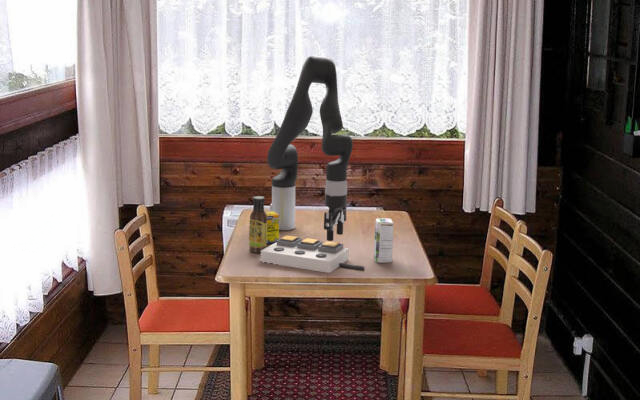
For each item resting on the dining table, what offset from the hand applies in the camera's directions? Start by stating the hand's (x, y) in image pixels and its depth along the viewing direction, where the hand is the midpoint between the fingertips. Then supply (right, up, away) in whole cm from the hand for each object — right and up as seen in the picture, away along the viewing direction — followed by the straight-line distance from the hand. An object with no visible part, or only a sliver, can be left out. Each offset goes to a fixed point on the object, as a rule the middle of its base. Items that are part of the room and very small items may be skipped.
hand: (334, 237), depth 278 cm
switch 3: (-1, -4, -3) cm, 5 cm away
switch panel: (-6, -8, -4) cm, 11 cm away
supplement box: (-24, -3, +20) cm, 32 cm away
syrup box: (+17, -8, 0) cm, 19 cm away
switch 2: (-9, -3, 0) cm, 9 cm away
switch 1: (-16, -2, +4) cm, 17 cm away
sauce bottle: (-27, -5, +9) cm, 29 cm away
